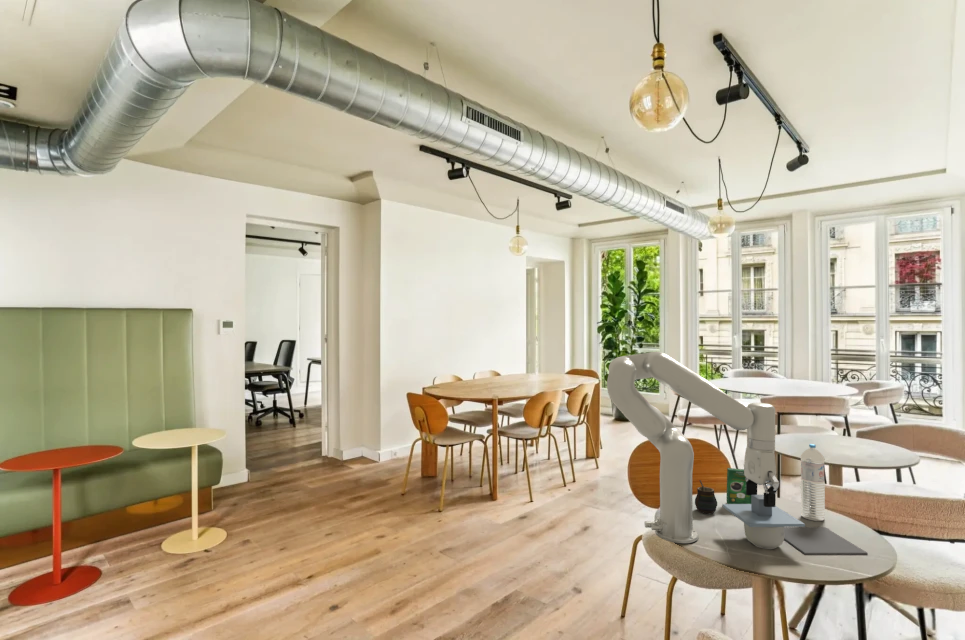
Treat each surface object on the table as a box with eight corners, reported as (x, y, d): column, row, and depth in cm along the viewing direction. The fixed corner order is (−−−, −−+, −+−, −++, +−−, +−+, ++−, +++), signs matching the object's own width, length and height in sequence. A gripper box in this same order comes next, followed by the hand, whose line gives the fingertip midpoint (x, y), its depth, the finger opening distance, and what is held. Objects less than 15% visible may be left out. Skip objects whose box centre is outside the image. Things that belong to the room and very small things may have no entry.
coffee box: (750, 504, 183) (750, 468, 183) (752, 507, 180) (752, 471, 181) (726, 502, 185) (726, 467, 185) (728, 505, 183) (727, 469, 183)
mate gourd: (703, 516, 172) (703, 487, 172) (689, 508, 180) (689, 480, 180) (721, 514, 174) (721, 485, 174) (707, 507, 181) (706, 479, 182)
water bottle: (814, 522, 167) (813, 447, 167) (796, 515, 173) (795, 443, 173) (829, 520, 168) (829, 446, 169) (811, 513, 175) (811, 441, 175)
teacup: (790, 554, 144) (790, 526, 144) (749, 551, 146) (749, 523, 146) (772, 534, 158) (772, 508, 158) (735, 531, 160) (735, 506, 160)
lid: (749, 526, 144) (749, 506, 144) (722, 506, 160) (722, 488, 160) (805, 526, 144) (804, 506, 144) (772, 506, 160) (771, 488, 160)
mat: (804, 554, 144) (804, 552, 144) (769, 528, 162) (769, 527, 162) (867, 554, 144) (867, 552, 144) (824, 528, 162) (824, 527, 162)
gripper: (734, 437, 161) (733, 490, 161) (764, 451, 143) (763, 511, 143) (757, 437, 161) (757, 491, 161) (790, 451, 143) (790, 511, 143)
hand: (760, 500), depth 152 cm, fingers open, 9 cm apart
